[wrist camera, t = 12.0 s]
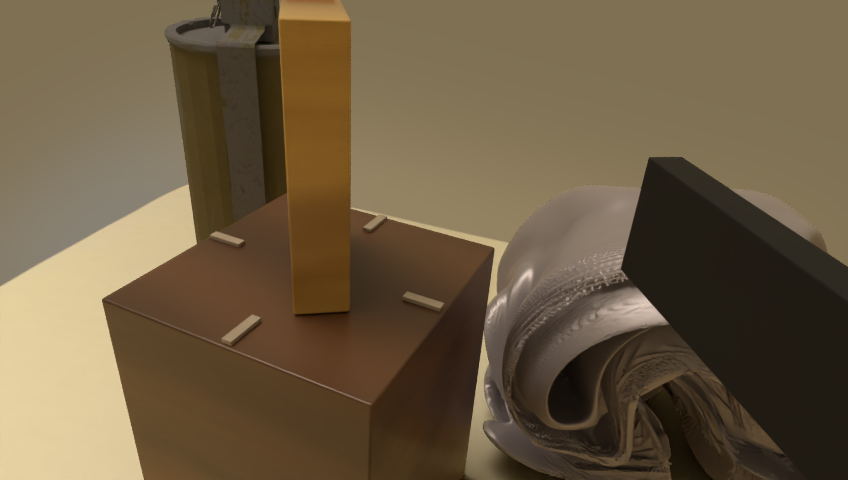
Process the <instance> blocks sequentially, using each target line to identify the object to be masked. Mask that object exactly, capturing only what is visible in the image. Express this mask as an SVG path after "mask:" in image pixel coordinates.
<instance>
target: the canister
mask: <svg viewBox="0 0 848 480" xmlns="http://www.w3.org/2000/svg"><path fill="white" fill-rule="evenodd" d="M218 1H219V2H218ZM219 4H220V6H219ZM218 6H219V10H218V14H217V17H215V15H216V12H217V9H218ZM220 10H221V16H219V14H220ZM278 17H279V0H217V5H216V6H214V7H213V10H212V14H211V17H207V18H196V19H191V20H184V21H180V22H178V23H175V24H173V25H170V26H168V27H167V28H166V29H165V36H166V38H167V40H168V42H169V43H170V50H171V57H172V65H173V72H174V79H175V87H176V94H177V101H178V108H179V115H180V123H181V130H182V138H183V144H184V152H185V159H186V167H187V174H188V182H189V189H190V196H191V203H192V211H193V218H194V225H195V233H196V240H197V244H199V243H200V242H202V241H204V240H205V239H207V238H209V237H210V235H211V234H212V233H214V232H216V231H217V232H219V231H221V230H223V229H225V228H226V227H228V226H230V225H232V224H233V223H235V222H237V221H238V220H240V219H242V218H244V217H245V216H247V215H249V214H251V213H252V212H254V211H256V210H258V209H259V208H261V207H263V206H264V205H266V204H268V203H270V202H271V201H273V200H275V199H277V198H278V197H280V196H282V195H284V194H285V193H287V181H286V161H285V142H284V123H283V104H282V84H281V65H280V46H279V26H278Z"/></svg>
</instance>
